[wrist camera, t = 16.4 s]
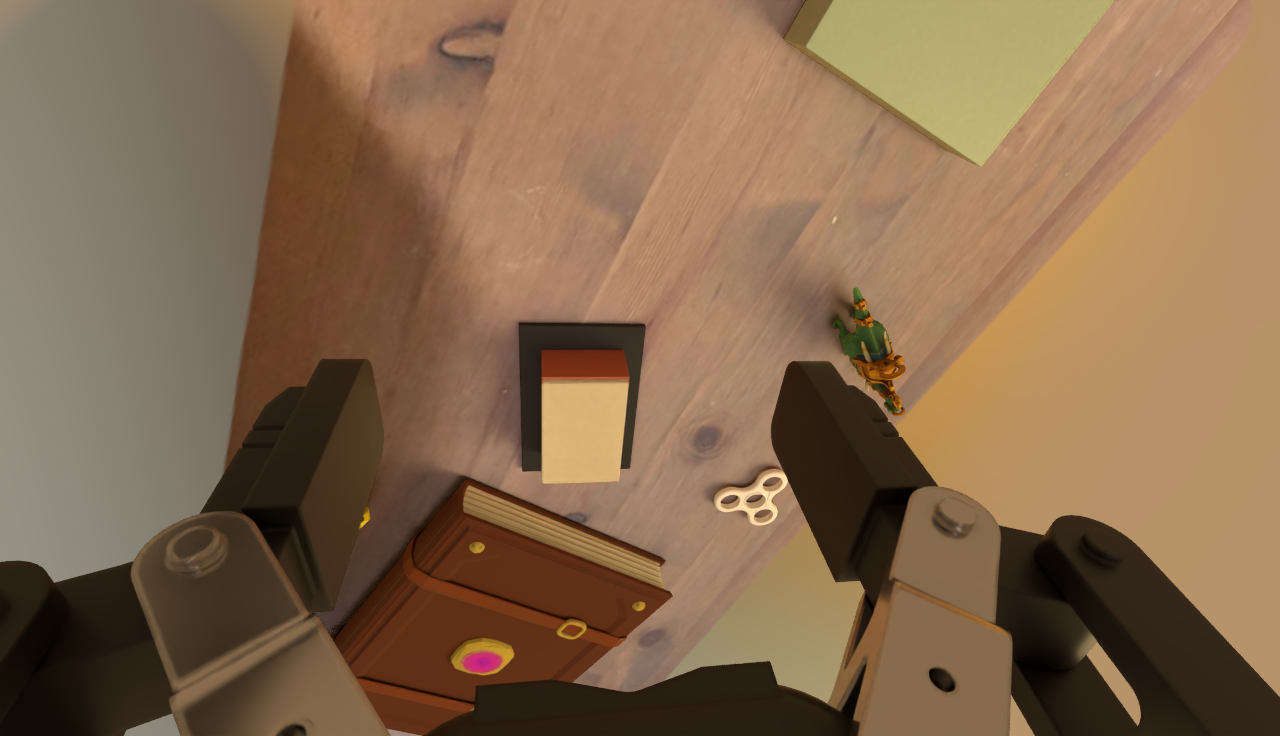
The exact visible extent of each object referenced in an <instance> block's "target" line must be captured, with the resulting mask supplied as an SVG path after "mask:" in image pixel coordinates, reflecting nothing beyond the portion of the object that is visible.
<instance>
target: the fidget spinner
mask: <svg viewBox="0 0 1280 736" xmlns="http://www.w3.org/2000/svg"><path fill="white" fill-rule="evenodd" d="M771 477H779V478H780V481H779V482H778V483H777V484H775V485H774V486H770V487H766V486H763V483H764V482H765V481H766V480H767V479H769V478H771ZM786 484H787V477H786V475H785V473H784V472H783V471H782V470H779V469H769V470H766V471H764V472H763V473H761V474H760V475H759V476H758V478H757V479H756V481H755V482H754V483H753V484H752V485H750V486H748V487H745V488H737V487H727V488H724V489H722V490H720V491H719V492H718V493H717V494H716V495H715V497H714V504H715V507H716V508H717V509H718V510H720V511H723V512H731V511H735V510H743V511H745V512H747V517H748V520H749V521H750V522H751V523H752V524H754V525H765V524H768V523H770V522H772V521H773V520H774V519H775V518H776V516H777V513H778V511H777V508H776V506H775V505H774V504H773V503H772V502H771V500H772V497H773V496H774V495H775V494H776V493H778V492H779V491H781V490H782V489H783V488H784V487H785V486H786ZM756 494H761V495H763V496H762V498H761V499H760V500H758V501H756V502H753V503H749V502H746V500H747V499H748V498H749V497H750V496H752V495H756ZM728 495H737V496H738V499H737V500H736V501H735V502H733V503H730V504H723V503H721V500H722V499H723V498H724V497H726V496H728ZM763 509H769V510H771V511H770V513H769V514H768V515H767V516H765V517H761V518H756V517H754V515H755V514H756V513H757V512H758V511H760V510H763Z"/></svg>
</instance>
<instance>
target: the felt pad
mask: <svg viewBox="0 0 1280 736" xmlns="http://www.w3.org/2000/svg"><path fill="white" fill-rule="evenodd" d="M645 328H646V327H645V325H644V324H562V323H519V344H520V387H521V431H522V471H542V365H541V350H624V354H625V358H626V363H627V368H628V373H629V385H628V395H627V405H626V416H625V426H624V436H623V446H622V456H621V466H620V469H629V468H630V462H631V453H632V444H633V435H634V426H635V417H636V408H637V399H638V390H639V382H640V373H641V364H642V355H643V346H644V337H645Z"/></svg>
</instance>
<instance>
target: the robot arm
mask: <svg viewBox="0 0 1280 736" xmlns="http://www.w3.org/2000/svg"><path fill="white" fill-rule="evenodd" d="M771 439H772V445H773V449H774V451H775V454H776V456H777V458H778V460H779V462H780V464H781V466H782V469H783V471H784V473H785V475H786V477H787V479H788V481H789V484H790V486H791V488H792V490H793V492H794V494H795V496H796V498H797V501H798V503H799V505H800V507H801V509H802V511H803V513H804V516H805V518H806V520H807V522H808V524H809V526H810V528H811V531H812V532H813V535H814V537H815V539H816V541H817V543H818V546H819V548H820V550H821V552H822V554H823V556H824V558H825V560H826V563H827V565H828V567H829V569H830V571H831V573H832V575H833V578H834V580H835V582H845V581H860V582H861V584H862V586H863V588H864V589H865V592H864V594H863V596H862V598H861V600H860V602H859V606H858V609H857V613H856V616H855V619H854V622H853V626H852V629H851V633H850V636H849V639H848V643H847V646H846V650H845V653H844V656H843V660H842V663H841V667H840V670H839V673H838V677H837V680H836V683H835V687H834V689H833V692H832V695H831V697H830V700H829V702H828V704H827V703H825V702H823V701H822V700H820V699H818V698H816V697H813V696H811V695H809V694H807V693H804V692H802V691H799V690H796V689H792V688H789V687H786V686H781V685H778V684H777V681H776V678H775V675H774V672H773V669H772V666H771V663H770V661H767V662H755V663H744V664H733V665H732V664H731V665H719V666H707V667H700V668H698V669H695V670H693V671H690V672H687V673H684V674H682V675H679V676H676V677H674V678H671V679H668V680H666V681H663V682H660V683H657V684H655V685H652V686H649V687H647V688H644V689H641V690H639V691H635V692H622V691H616V690H610V689H605V688H599V687H593V686H588V685H582V684H576V683H571V682H565V681H560V680H554V679H550V680H538V681H526V682H514V683H502V684H490V685H478V686H476V690H475V702H474V710H472V711H470V712H467V713H464V714H461V715H459V716H457V717H455V718H453V719H451V720H449V721H447V722H445V723H443V724H441V725H439V726H437V727H436V728H434V729H433V730H431V731H430V732H428V733H427V734H425V735H423V736H1009V731H1010V729H1009V728H1010V702H1011V701H1010V700H1011V695H1012V697H1013V699H1014V700H1015V702H1016V704H1017V706H1018V707H1019V709H1020V711H1021V712H1022V714H1023V716H1024V718H1025V719H1026V721H1027V723H1028V725H1029V726H1030V728H1031V729H1032V731H1033V733H1034V735H1035V736H1280V697H1279V696H1278V695H1277V694H1276V693H1275V692H1274V691H1273V689H1272V688H1271V687H1270V686H1269V685H1268V684H1267V683H1266V682H1265V681H1264V680H1263V679H1262V678H1261V677H1260V676H1259V674H1258V673H1257V672H1256V671H1255V670H1254V669H1253V668H1252V667H1251V666H1250V665H1249V664H1248V663H1247V662H1246V661H1245V660H1244V658H1243V657H1242V656H1241V655H1240V654H1239V653H1238V652H1237V651H1236V650H1235V649H1234V648H1233V647H1232V646H1231V645H1230V644H1229V642H1227V640H1226V639H1225V638H1224V637H1223V636H1222V635H1221V634H1220V633H1219V632H1218V631H1217V630H1216V629H1215V628H1214V626H1212V625H1211V623H1210V622H1209V621H1208V620H1207V619H1206V618H1205V617H1204V616H1203V615H1202V614H1201V613H1200V612H1199V610H1198V609H1197V608H1196V607H1195V606H1194V605H1193V604H1192V603H1191V602H1190V601H1189V600H1188V599H1187V598H1186V597H1185V596H1184V594H1183V593H1182V592H1180V590H1179V589H1178V588H1177V587H1176V586H1175V585H1174V584H1173V583H1172V582H1171V581H1170V580H1169V579H1168V577H1167V576H1166V575H1165V574H1164V573H1163V572H1162V571H1161V570H1160V569H1159V568H1158V567H1157V566H1156V565H1155V564H1154V563H1153V561H1152V560H1151V559H1150V558H1149V557H1148V556H1147V555H1146V554H1145V553H1144V552H1143V551H1142V550H1141V549H1140V548H1139V547H1138V546H1137V545H1136V544H1135V543H1134V542H1133V541H1132V540H1130V539H1129V538H1128V537H1126V536H1125V535H1123V534H1122V533H1121V532H1119V531H1117V530H1115V529H1114V528H1112V527H1110V526H1108V525H1106V524H1104V523H1101V522H1099V521H1096V520H1093V519H1090V518H1086V517H1082V516H1074V515H1070V516H1069V515H1068V516H1062V517H1060V518H1058V519H1056V520H1055V521H1054V522H1053V523H1052V525H1051V526H1050V528H1049V530H1048V531H1047V532H1046V534H1045V535H1041V534H1036V533H1031V532H1027V531H1022V530H1017V529H1013V528H1008V527H1003V526H999V525H998V524H997V522H996V520H995V519H994V518H993V516H992V515H991V514H990V513H989V512H988V511H987V509H986V508H984V507H983V506H982V505H981V504H979V503H978V502H977V501H975V500H973V499H972V498H970V497H968V496H967V495H964V494H962V493H960V492H958V491H955V490H952V489H949V488H944V487H938V485H937V484H936V482H935V481H934V480H933V479H932V477H931V476H930V474H929V473H928V472H927V471H926V469H925V468H924V466H923V465H922V464H921V462H920V461H919V460H918V458H917V457H916V456H915V455H914V453H913V452H912V450H911V449H910V448H909V446H908V445H907V444H906V442H905V441H904V440H903V438H902V437H899V433H898V432H897V430H896V429H895V427H894V426H893V425H892V423H891V422H888V418H887V417H886V415H885V414H884V413H883V411H882V410H881V409H880V407H879V406H878V405H877V403H876V402H875V401H874V400H873V399H872V398H870V397H869V396H867V395H866V394H865V393H863V392H862V391H861V390H859V389H858V388H857V387H855V386H854V385H847V384H846V383H845V381H844V380H843V378H842V377H841V376H840V374H839V373H838V371H837V370H836V369H835V367H834V366H833V365H832V363H830V362H828V361H792V362H791V363H790V364H789V365H788V367H787V369H786V372H785V375H784V379H783V382H782V386H781V390H780V393H779V397H778V401H777V404H776V408H775V411H774V415H773V419H772V424H771ZM383 443H384V431H383V423H382V417H381V412H380V407H379V401H378V396H377V391H376V386H375V380H374V375H373V370H372V366H371V363H370V362H369V360H368V359H322V360H321V361H320V362H319V364H318V366H317V367H316V369H315V371H314V373H313V375H312V377H311V379H310V380H309V382H308V384H307V386H306V387H289V388H287V389H286V390H285V391H284V392H282V393H281V394H280V395H278V396H277V397H276V398H274V399H273V400H272V401H270V402H269V403H268V404H267V405H265V407H264V409H263V410H262V412H261V414H260V415H259V417H258V419H257V420H256V422H255V424H254V425H253V431H250V432H249V433H248V435H247V437H246V438H245V440H244V442H243V443H242V449H239V450H238V452H237V453H236V455H235V456H234V458H233V460H232V461H231V463H230V465H229V466H228V468H227V470H226V471H225V473H224V475H223V476H222V478H221V480H220V481H219V483H218V484H217V486H216V488H215V489H214V491H213V493H212V494H211V496H210V498H209V499H208V501H207V503H206V504H205V506H204V508H203V509H202V511H201V512H200V514H199V515H195V516H192V517H189V518H186V519H183V520H181V521H179V522H177V523H175V524H173V525H171V526H169V527H168V528H166V529H164V530H162V531H161V532H160V533H158V534H157V535H156V536H154V537H153V538H152V539H151V540H150V541H149V542H147V543H146V544H145V545H144V547H143V548H142V549H141V550H140V551H139V553H138V555H137V556H136V558H135V559H134V561H133V562H129V563H126V564H123V565H120V566H116V567H112V568H108V569H105V570H101V571H97V572H93V573H90V574H86V575H82V576H78V577H75V578H71V579H67V580H63V581H60V582H56V583H54V582H53V581H52V579H51V578H50V576H49V575H48V574H47V572H46V571H45V570H44V569H43V568H42V567H41V566H39V565H37V564H34V563H31V562H26V561H5V562H0V736H124V734H125V732H126V730H127V729H130V728H133V727H136V726H138V725H141V724H144V723H147V722H150V721H152V720H155V719H158V718H161V717H163V716H166V715H169V714H172V713H173V716H174V719H175V722H176V724H177V727H178V730H179V733H180V736H391V735H390V734H389V732H388V730H387V729H386V727H385V725H384V724H383V722H382V720H381V719H380V717H379V716H378V714H377V712H376V711H375V709H374V707H373V706H372V704H371V702H370V701H369V699H368V697H367V696H366V694H365V692H364V691H363V689H362V688H361V686H360V684H359V683H358V681H357V679H356V678H355V676H354V674H353V673H352V671H351V669H350V668H349V666H348V664H347V663H346V661H345V660H344V658H343V656H342V655H341V653H340V651H339V650H338V648H337V646H336V645H335V643H334V641H333V640H332V638H331V636H330V635H329V633H328V631H327V630H326V628H325V627H324V625H323V623H322V622H321V620H320V619H319V618H318V616H317V615H316V614H315V613H313V614H311V615H310V614H309V612H324V611H333V610H334V607H335V604H336V601H337V598H338V594H339V591H340V588H341V585H342V582H343V579H344V575H345V572H346V569H347V566H348V563H349V559H350V556H351V553H352V550H353V547H354V544H355V540H356V537H357V534H358V531H359V528H360V525H361V521H362V518H363V515H364V512H365V509H366V505H367V502H368V499H369V496H370V493H371V490H372V486H373V483H374V480H375V477H376V474H377V471H378V467H379V464H380V461H381V457H382V453H383ZM1097 642H1098V643H1099V645H1100V646H1101V647H1102V648H1103V650H1104V651H1105V652H1106V654H1107V655H1108V657H1109V658H1110V659H1111V661H1112V662H1113V663H1114V665H1115V666H1116V667H1117V669H1118V670H1119V671H1120V673H1121V674H1122V675H1123V677H1124V678H1125V679H1126V681H1127V682H1128V683H1129V685H1130V686H1131V687H1132V689H1133V690H1134V692H1135V694H1136V696H1137V699H1138V701H1139V705H1140V710H1141V719H1140V723H1139V725H1138V726H1137V725H1136V723H1135V722H1134V721H1133V719H1132V718H1131V717H1130V715H1129V714H1128V712H1127V711H1126V709H1125V708H1124V707H1123V705H1122V704H1121V702H1120V701H1119V700H1118V698H1117V697H1116V696H1115V694H1114V693H1113V691H1112V690H1111V688H1110V687H1109V686H1108V684H1107V683H1106V682H1105V680H1104V679H1103V677H1102V676H1101V675H1100V673H1099V672H1098V670H1097V669H1096V668H1095V666H1094V665H1093V663H1092V662H1091V661H1090V659H1089V658H1088V657H1087V655H1086V654H1087V653H1088V652H1089V651H1090V650H1091V649H1092V647H1093V646H1094V645H1095V644H1096V643H1097Z"/></svg>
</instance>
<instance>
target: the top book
mask: <svg viewBox="0 0 1280 736" xmlns="http://www.w3.org/2000/svg"><path fill="white" fill-rule="evenodd" d="M541 365H542V484H549V483H581V482H613V481H619V477H620V466H621V456H622V446H623V436H624V426H625V416H626V405H627V395H628V385H629V373H628V368H627V363H626V358H625V354H624V350H541Z"/></svg>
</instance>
